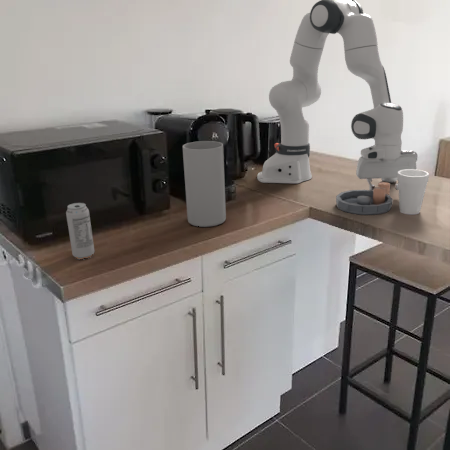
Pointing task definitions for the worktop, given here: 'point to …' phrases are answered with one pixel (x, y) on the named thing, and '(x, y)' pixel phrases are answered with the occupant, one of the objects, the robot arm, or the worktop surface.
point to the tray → (354, 208)
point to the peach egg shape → (379, 195)
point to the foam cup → (411, 190)
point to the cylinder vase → (204, 183)
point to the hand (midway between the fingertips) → (384, 189)
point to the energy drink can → (80, 230)
